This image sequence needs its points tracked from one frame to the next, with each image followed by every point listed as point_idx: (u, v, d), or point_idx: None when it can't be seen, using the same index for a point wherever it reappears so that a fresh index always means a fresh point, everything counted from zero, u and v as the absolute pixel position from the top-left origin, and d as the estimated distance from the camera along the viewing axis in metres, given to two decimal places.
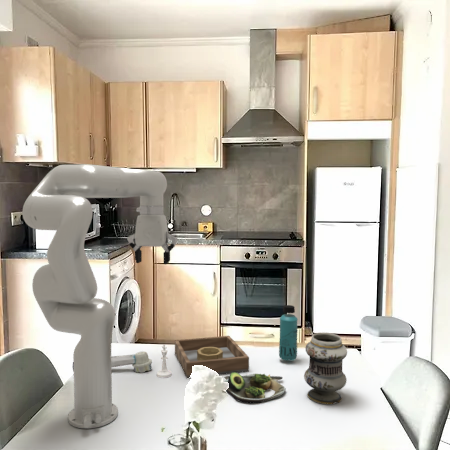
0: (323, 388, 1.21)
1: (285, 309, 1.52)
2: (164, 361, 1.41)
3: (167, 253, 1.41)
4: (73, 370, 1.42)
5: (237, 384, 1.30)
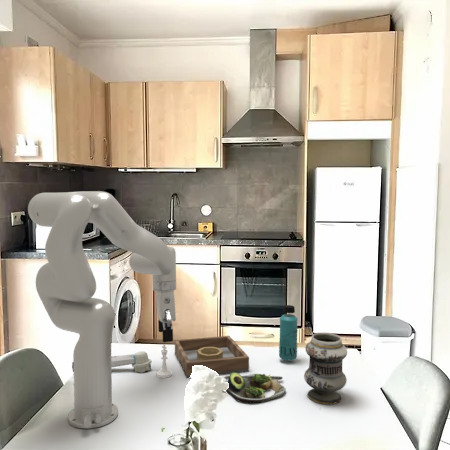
0: (323, 388, 1.21)
1: (285, 309, 1.52)
2: (164, 361, 1.41)
3: None
4: (73, 370, 1.42)
5: (237, 384, 1.30)
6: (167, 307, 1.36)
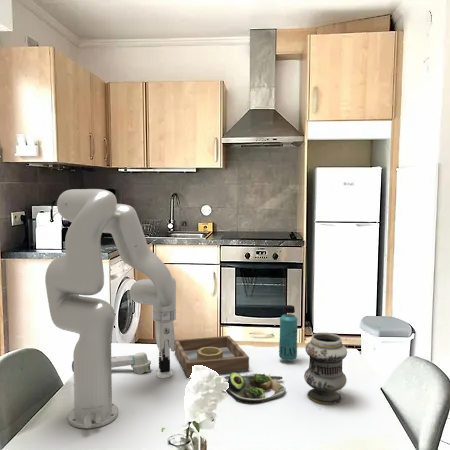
0: (323, 388, 1.21)
1: (285, 309, 1.52)
2: None
3: None
4: (72, 370, 1.43)
5: (237, 384, 1.30)
6: (166, 338, 1.37)
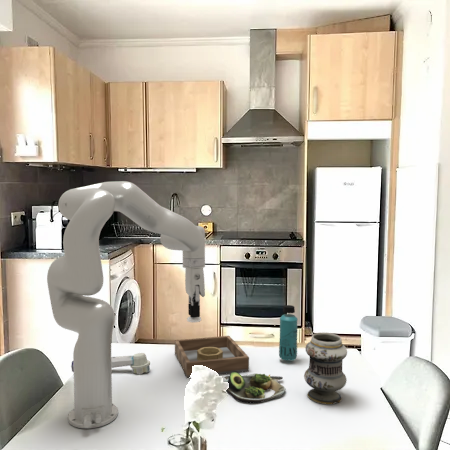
0: (323, 388, 1.21)
1: (285, 309, 1.52)
2: None
3: None
4: (72, 370, 1.43)
5: (237, 384, 1.30)
6: (197, 283, 1.42)
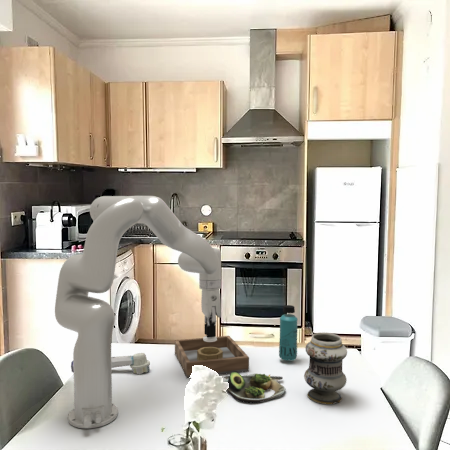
0: (323, 388, 1.21)
1: (285, 309, 1.52)
2: None
3: None
4: (71, 369, 1.43)
5: (237, 384, 1.30)
6: (214, 304, 1.47)
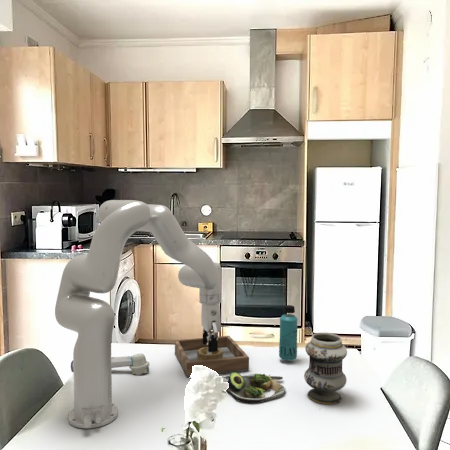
0: (323, 388, 1.21)
1: (285, 309, 1.52)
2: None
3: None
4: (71, 370, 1.43)
5: (236, 384, 1.30)
6: (213, 319, 1.47)
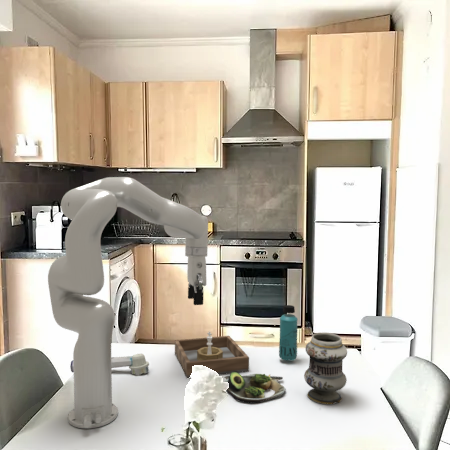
0: (323, 388, 1.21)
1: (285, 309, 1.52)
2: (209, 347, 1.52)
3: None
4: (71, 370, 1.43)
5: (237, 383, 1.30)
6: (199, 271, 1.43)
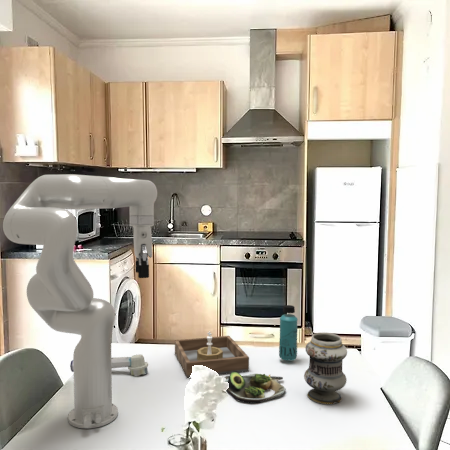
0: (323, 388, 1.21)
1: (285, 309, 1.52)
2: (209, 347, 1.52)
3: None
4: (71, 369, 1.43)
5: (236, 383, 1.30)
6: (143, 242, 1.32)
